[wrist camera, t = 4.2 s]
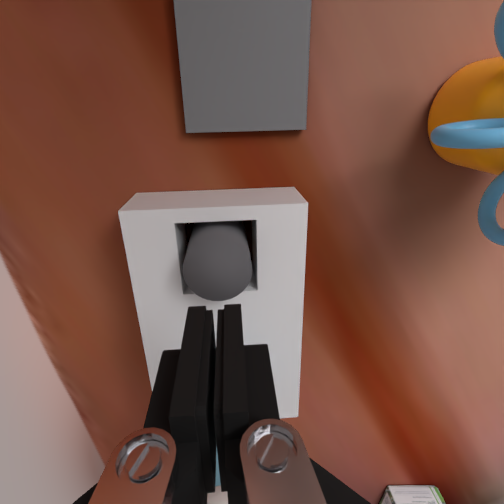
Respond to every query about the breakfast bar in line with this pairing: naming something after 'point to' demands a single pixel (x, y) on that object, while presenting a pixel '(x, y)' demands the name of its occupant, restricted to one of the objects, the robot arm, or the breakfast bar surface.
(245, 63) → the mat
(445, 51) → the breakfast bar surface
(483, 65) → the cylinder
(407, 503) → the syrup box
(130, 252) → the housing
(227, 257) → the plunger
